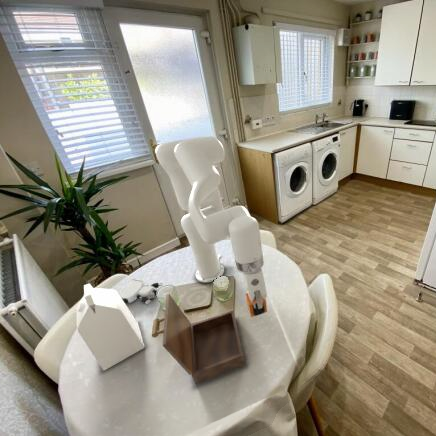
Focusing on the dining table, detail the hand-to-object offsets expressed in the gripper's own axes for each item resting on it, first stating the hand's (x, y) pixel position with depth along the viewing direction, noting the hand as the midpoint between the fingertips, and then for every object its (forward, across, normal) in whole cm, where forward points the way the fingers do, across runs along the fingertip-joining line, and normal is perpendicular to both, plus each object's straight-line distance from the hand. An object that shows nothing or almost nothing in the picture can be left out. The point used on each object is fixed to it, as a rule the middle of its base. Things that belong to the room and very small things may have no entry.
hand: (257, 306), depth 74 cm
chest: (+16, +2, +14) cm, 21 cm away
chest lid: (+2, +2, +23) cm, 23 cm away
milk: (+16, +16, +45) cm, 50 cm away
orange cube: (+1, 0, 0) cm, 1 cm away
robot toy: (+16, +38, +42) cm, 59 cm away
